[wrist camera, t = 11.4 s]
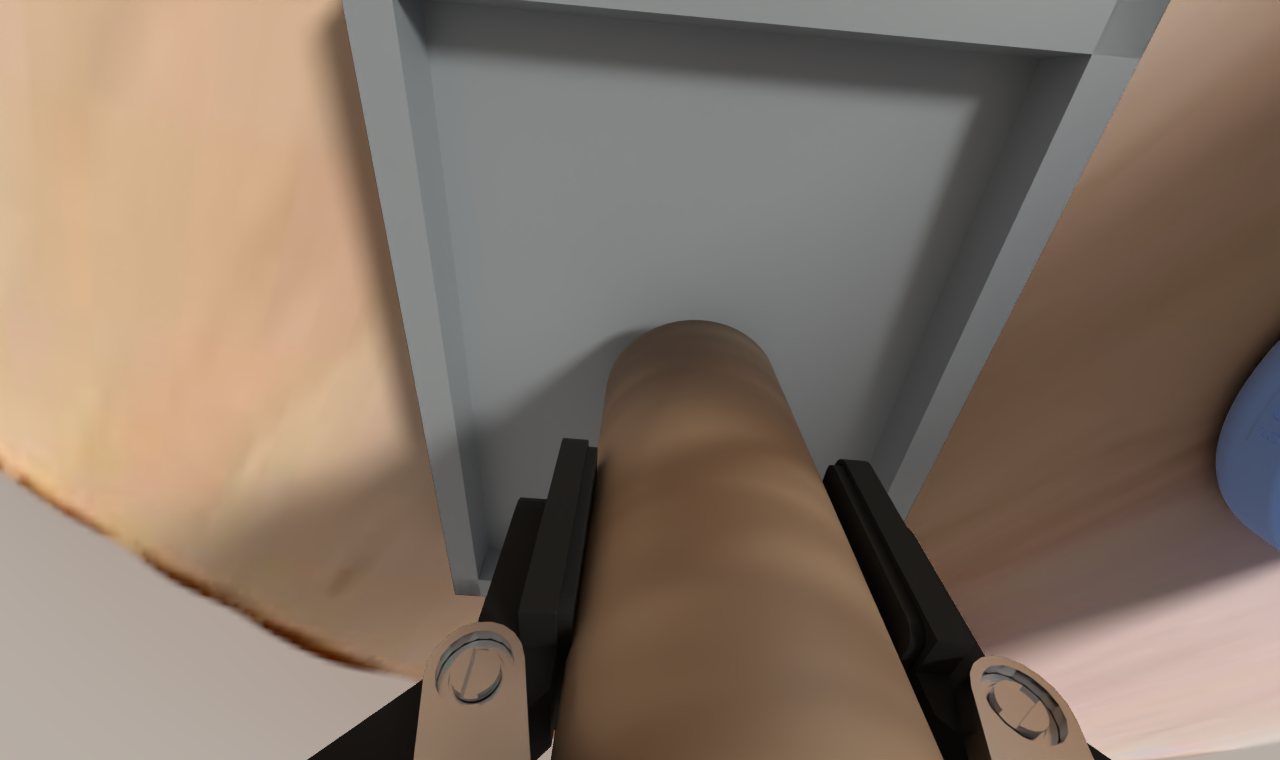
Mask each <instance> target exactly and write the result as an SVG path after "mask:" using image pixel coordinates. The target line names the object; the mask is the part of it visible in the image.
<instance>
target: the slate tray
mask: <svg viewBox="0 0 1280 760" xmlns="http://www.w3.org/2000/svg"><path fill="white" fill-rule="evenodd" d="M1170 1H1171V0H342V4H343V9H344V14H345V20H346V25H347V30H348V35H349V41H350V46H351V51H352V56H353V62H354V67H355V72H356V77H357V83H358V88H359V93H360V98H361V104H362V109H363V114H364V119H365V124H366V130H367V135H368V140H369V145H370V151H371V156H372V161H373V166H374V172H375V177H376V182H377V187H378V193H379V198H380V203H381V208H382V214H383V219H384V224H385V229H386V235H387V240H388V245H389V250H390V255H391V261H392V266H393V271H394V276H395V282H396V287H397V292H398V297H399V303H400V308H401V313H402V318H403V324H404V329H405V334H406V339H407V345H408V350H409V355H410V360H411V365H412V371H413V376H414V381H415V386H416V392H417V397H418V402H419V407H420V413H421V418H422V423H423V428H424V434H425V439H426V444H427V449H428V455H429V460H430V465H431V470H432V476H433V481H434V486H435V491H436V496H437V502H438V507H439V512H440V517H441V523H442V528H443V533H444V538H445V544H446V549H447V554H448V559H449V565H450V570H451V575H452V580H453V586H454V591H455V595H470V596H485V597H486V596H487V593H488V590H489V587H490V584H491V581H492V578H493V575H494V571H495V568H496V565H497V562H498V559H499V556H500V553H501V550H502V547H503V544H504V541H505V538H506V535H507V532H508V529H509V526H510V523H511V519H512V516H513V513H514V510H515V507H516V505H517V502H518V500H519V499H520V497H524V498H538V499H547V497H548V493H549V489H550V485H551V481H552V477H553V473H554V469H555V466H556V462H557V458H558V454H559V450H560V446H561V442H562V439H563V438H572V439H585V440H589V447H598V441H599V434H600V427H601V421H602V414H603V407H604V401H605V394H606V387H607V381H608V378H609V374H610V371H611V369H612V367H613V365H614V363H615V361H616V360H617V358H618V357H619V355H620V354H621V353H622V352H623V351H624V349H625V348H626V347H627V346H628V345H629V344H630V343H632V342H633V341H634V340H635V339H636V338H638V337H639V336H641V335H642V334H644V333H646V332H648V331H650V330H652V329H654V328H656V327H659V326H662V325H664V324H668V323H672V322H677V321H684V320H705V321H713V322H717V323H721V324H725V325H727V326H730V327H732V328H735V329H737V330H739V331H740V332H742V333H744V334H746V335H747V336H748V337H750V338H751V339H752V340H753V341H755V342H756V343H757V344H758V346H759V347H760V348H761V349H762V350H763V351H764V353H765V354H766V356H767V357H768V359H769V361H770V363H771V365H772V367H773V370H774V372H775V374H776V377H777V379H778V381H779V383H780V386H781V388H782V390H783V393H784V395H785V397H786V400H787V402H788V404H789V406H790V409H791V411H792V413H793V416H794V418H795V420H796V422H797V425H798V427H799V429H800V432H801V434H802V436H803V439H804V441H805V443H806V445H807V448H808V450H809V452H810V455H811V457H812V459H813V461H814V464H815V466H816V468H817V471H818V473H819V475H820V478H821V480H822V481H823V478H824V475H825V472H826V470H827V468H828V466H829V465H835V463H836V462H837V461H838V460H839V459H848V460H861V461H867V462H869V463H870V465H871V466H872V468H873V469H874V471H875V473H876V475H877V476H878V478H879V480H880V481H881V483H882V485H883V487H884V488H885V490H886V492H887V494H888V495H889V497H890V499H891V500H892V502H893V504H894V506H895V507H896V509H897V511H898V513H899V514H900V516H901V518H902V519H903V521H905V519H906V517H907V515H908V513H909V511H910V509H911V507H912V505H913V503H914V501H915V499H916V497H917V495H918V493H919V491H920V489H921V487H922V485H923V484H924V482H925V480H926V478H927V476H928V474H929V472H930V470H931V468H932V466H933V464H934V462H935V460H936V458H937V456H938V454H939V452H940V450H941V448H942V446H943V444H944V442H945V440H946V439H947V437H948V435H949V433H950V431H951V429H952V427H953V425H954V423H955V421H956V419H957V417H958V415H959V413H960V411H961V409H962V407H963V405H964V403H965V401H966V399H967V397H968V396H969V394H970V392H971V390H972V388H973V386H974V384H975V382H976V380H977V378H978V376H979V374H980V372H981V370H982V368H983V366H984V364H985V362H986V360H987V358H988V356H989V354H990V353H991V351H992V349H993V347H994V345H995V343H996V341H997V339H998V337H999V335H1000V333H1001V331H1002V329H1003V327H1004V325H1005V323H1006V321H1007V319H1008V317H1009V315H1010V313H1011V311H1012V309H1013V308H1014V306H1015V304H1016V302H1017V300H1018V298H1019V296H1020V294H1021V292H1022V290H1023V288H1024V286H1025V284H1026V282H1027V280H1028V278H1029V276H1030V274H1031V272H1032V270H1033V268H1034V266H1035V265H1036V263H1037V261H1038V259H1039V257H1040V255H1041V253H1042V251H1043V249H1044V247H1045V245H1046V243H1047V241H1048V239H1049V237H1050V235H1051V233H1052V231H1053V229H1054V227H1055V225H1056V223H1057V222H1058V220H1059V218H1060V216H1061V214H1062V212H1063V210H1064V208H1065V206H1066V204H1067V202H1068V200H1069V198H1070V196H1071V194H1072V192H1073V190H1074V188H1075V186H1076V184H1077V182H1078V180H1079V179H1080V177H1081V175H1082V173H1083V171H1084V169H1085V167H1086V165H1087V163H1088V161H1089V159H1090V157H1091V155H1092V153H1093V151H1094V149H1095V147H1096V145H1097V143H1098V141H1099V139H1100V137H1101V135H1102V134H1103V132H1104V130H1105V128H1106V126H1107V124H1108V122H1109V120H1110V118H1111V116H1112V114H1113V112H1114V110H1115V108H1116V106H1117V104H1118V102H1119V100H1120V98H1121V96H1122V94H1123V92H1124V91H1125V89H1126V87H1127V85H1128V83H1129V81H1130V79H1131V77H1132V75H1133V73H1134V71H1135V69H1136V67H1137V65H1138V63H1139V61H1140V59H1141V57H1142V55H1143V53H1144V51H1145V49H1146V48H1147V46H1148V44H1149V42H1150V40H1151V38H1152V36H1153V34H1154V32H1155V30H1156V28H1157V26H1158V24H1159V22H1160V20H1161V18H1162V16H1163V14H1164V12H1165V10H1166V8H1167V6H1168V4H1169V3H1170Z"/></svg>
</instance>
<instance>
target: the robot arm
mask: <svg viewBox="0 0 1280 760" xmlns="http://www.w3.org/2000/svg"><path fill="white" fill-rule="evenodd" d="M597 457H598V447H589V440H585V439H572V438H563V439H562V442H561V446H560V450H559V454H558V458H557V462H556V466H555V469H554V473H553V477H552V481H551V485H550V489H549V493H548V497H547V499H538V498H524V497H520V499H519V500H518V502H517V505H516V507H515V510H514V513H513V516H512V519H511V523H510V526H509V529H508V532H507V535H506V538H505V541H504V544H503V547H502V550H501V553H500V556H499V559H498V562H497V565H496V568H495V571H494V575H493V578H492V581H491V584H490V587H489V590H488V593H487V596H486V599H485V602H484V605H483V608H482V611H481V614H480V617H479V620H478V622H476V623H473V624H470V625H466V626H463V627H461V628H459V629H458V630H456V631H455V632H453V633H451V634H450V635H448V636H447V637H446V638H445V639H444V640H443V641H442V642H441V643H440V644H439V645H438V646H437V647H436V649H435V650H434V652H433V654H432V655H431V657H430V659H429V660H428V662H427V666H426V670H425V673H424V677H423V680H421V681H420V682H418V683H417V684H416V685H414V686H413V687H411V688H410V689H408V690H407V691H406V692H404V693H403V694H401V695H400V696H398V697H397V698H395V699H394V700H393V701H391V702H390V703H388V704H387V705H386V706H384V707H383V708H381V709H380V710H378V711H377V712H375V713H374V714H372V715H371V716H370V717H368V718H367V719H365V720H364V721H362V722H361V723H360V724H358V725H357V726H355V727H354V728H352V729H351V730H349V731H348V732H347V733H345V734H344V735H342V736H341V737H339V738H338V739H337V740H335V741H334V742H332V743H331V744H329V745H328V746H327V747H325V748H324V749H322V750H321V751H319V752H318V753H316V754H315V755H314V756H312V757H311V758H309V759H308V760H537V759H538V758H539V757H540V756H541V755H542V754H543V753H544V752H545V751H547V750H548V749H549V748H550V747H551V744H552V738H553V731H554V730H555V729H556V722H557V715H558V709H559V702H560V695H561V689H562V682H563V675H564V668H565V662H566V658H567V656H568V653H569V650H570V648H571V646H572V640H573V633H574V626H575V619H576V612H577V605H578V598H579V591H580V584H581V577H582V571H583V564H584V557H585V550H586V543H587V536H588V529H589V522H590V515H591V508H592V501H593V494H594V487H595V480H596V473H597ZM822 482H823V484H824V487H825V489H826V491H827V494H828V496H829V498H830V500H831V503H832V505H833V507H834V510H835V512H836V514H837V516H838V519H839V521H840V523H841V526H842V528H843V530H844V533H845V535H846V537H847V539H848V542H849V544H850V546H851V549H852V551H853V553H854V555H855V558H856V560H857V562H858V565H859V567H860V569H861V572H862V574H863V576H864V578H865V581H866V583H867V585H868V588H869V590H870V592H871V594H872V597H873V599H874V601H875V604H876V606H877V608H878V611H879V613H880V615H881V617H882V620H883V622H884V624H885V627H886V629H887V631H888V633H889V636H890V638H891V640H892V643H893V645H894V647H895V650H896V652H897V654H898V656H899V659H900V661H901V663H902V666H903V668H904V670H905V672H906V675H907V677H908V679H909V682H910V684H911V686H912V689H913V691H914V693H915V695H916V698H917V700H918V702H919V705H920V707H921V709H922V711H923V714H924V716H925V718H926V721H927V723H928V725H929V728H930V730H931V732H932V734H933V737H934V739H935V741H936V744H937V746H938V748H939V750H940V753H941V755H942V757H943V760H1111V759H1109V758H1108V757H1106V756H1105V755H1104V754H1102V753H1101V752H1099V751H1098V750H1096V749H1095V748H1094V747H1092V746H1091V745H1089V744H1088V743H1087V742H1086V740H1085V738H1084V735H1083V733H1082V731H1081V728H1080V726H1079V724H1078V722H1077V719H1076V718H1075V716H1074V714H1073V712H1072V711H1071V709H1070V707H1069V705H1068V704H1067V703H1066V701H1065V700H1064V699H1063V698H1062V697H1061V695H1060V694H1059V693H1058V692H1057V691H1056V690H1055V688H1054V687H1052V686H1051V685H1050V684H1049V683H1048V682H1047V681H1045V680H1044V679H1043V678H1042V677H1041V676H1040V675H1038V674H1037V673H1035V672H1034V671H1032V670H1030V669H1029V668H1027V667H1026V666H1024V665H1023V664H1020V663H1018V662H1015V661H1013V660H1011V659H1008V658H1004V657H998V656H987V657H985V655H984V654H983V652H982V650H981V649H980V647H979V645H978V644H977V642H976V640H975V638H974V637H973V635H972V633H971V632H970V630H969V628H968V626H967V625H966V623H965V621H964V620H963V618H962V616H961V614H960V613H959V611H958V609H957V608H956V606H955V604H954V602H953V601H952V599H951V597H950V596H949V594H948V592H947V591H946V589H945V587H944V585H943V584H942V582H941V580H940V579H939V577H938V575H937V573H936V572H935V570H934V568H933V567H932V565H931V563H930V561H929V560H928V558H927V556H926V555H925V553H924V551H923V549H922V548H921V546H920V544H919V543H918V541H917V539H916V538H915V536H914V534H913V533H912V532H911V531H910V529H909V528H907V526H906V525H905V523H904V521H903V519H902V518H901V516H900V514H899V513H898V511H897V509H896V507H895V506H894V504H893V502H892V500H891V499H890V497H889V495H888V494H887V492H886V490H885V488H884V487H883V485H882V483H881V481H880V480H879V478H878V476H877V475H876V473H875V471H874V469H873V468H872V466H871V465H870V463H869V462H867V461H861V460H848V459H839V460H838V461H837V462H836V463H835V465H829V466H828V468H827V470H826V472H825V475H824V478H823V481H822Z"/></svg>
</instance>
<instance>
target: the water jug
mask: <svg viewBox="0 0 1280 760" xmlns="http://www.w3.org/2000/svg"><path fill="white" fill-rule="evenodd" d="M1216 476H1217V481H1218V485H1219V488H1220V491H1221V494H1222V496H1223V498H1224V500H1225V502H1226V504H1227V505H1228V507H1229V508H1230V510H1231V511H1232V512H1233V514H1234V515H1235V516H1236V517H1237V518H1238V519H1239V520H1240V521H1241V522H1242V523H1243V524H1244V525H1245V526H1246V527H1247V528H1248V529H1250V530H1251V531H1252V532H1253V533H1255V534H1256V535H1258V536H1259V537H1260V538H1262V539H1263V540H1264V541H1266V542H1267V543H1268V544H1270V545H1271V546H1273V547H1274V548H1275V549H1277V550H1278V551H1279V552H1280V340H1279V341H1278V342H1277V343H1276V344H1275V345H1274V346H1273V347H1272V349H1271V350H1270V351H1269V352H1268V353H1267V354H1266V356H1265V357H1264V358H1263V359H1262V360H1261V362H1260V363H1259V364H1258V366H1257V367H1256V368H1255V370H1254V371H1253V372H1252V374H1251V375H1250V376H1249V378H1248V379H1247V381H1246V382H1245V384H1244V385H1243V387H1242V388H1241V390H1240V392H1239V393H1238V395H1237V397H1236V398H1235V400H1234V402H1233V404H1232V406H1231V408H1230V410H1229V412H1228V414H1227V416H1226V419H1225V421H1224V424H1223V427H1222V430H1221V433H1220V436H1219V440H1218V445H1217V451H1216Z"/></svg>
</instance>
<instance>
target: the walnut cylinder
mask: <svg viewBox="0 0 1280 760" xmlns="http://www.w3.org/2000/svg"><path fill="white" fill-rule="evenodd" d="M551 760H943V757H942V755H941V753H940V750H939V748H938V746H937V744H936V741H935V739H934V737H933V734H932V732H931V730H930V728H929V725H928V723H927V721H926V718H925V716H924V714H923V711H922V709H921V707H920V705H919V702H918V700H917V698H916V695H915V693H914V691H913V689H912V686H911V684H910V682H909V679H908V677H907V675H906V672H905V670H904V668H903V666H902V663H901V661H900V659H899V656H898V654H897V652H896V650H895V647H894V645H893V643H892V640H891V638H890V636H889V633H888V631H887V629H886V627H885V624H884V622H883V620H882V617H881V615H880V613H879V611H878V608H877V606H876V604H875V601H874V599H873V597H872V594H871V592H870V590H869V588H868V585H867V583H866V581H865V578H864V576H863V574H862V572H861V569H860V567H859V565H858V562H857V560H856V558H855V555H854V553H853V551H852V549H851V546H850V544H849V542H848V539H847V537H846V535H845V533H844V530H843V528H842V526H841V523H840V521H839V519H838V516H837V514H836V512H835V510H834V507H833V505H832V503H831V500H830V498H829V496H828V494H827V491H826V489H825V487H824V484H823V482H822V480H821V478H820V475H819V473H818V471H817V468H816V466H815V464H814V461H813V459H812V457H811V455H810V452H809V450H808V448H807V445H806V443H805V441H804V439H803V436H802V434H801V432H800V429H799V427H798V425H797V422H796V420H795V418H794V416H793V413H792V411H791V409H790V406H789V404H788V402H787V400H786V397H785V395H784V393H783V390H782V388H781V386H780V383H779V381H778V379H777V377H776V374H775V372H774V370H773V367H772V365H771V363H770V361H769V359H768V357H767V356H766V354H765V353H764V351H763V350H762V349H761V348H760V347H759V346H758V344H757V343H756V342H755V341H753V340H752V339H751V338H750V337H748V336H747V335H746V334H744V333H742V332H740V331H739V330H737V329H735V328H732V327H730V326H727V325H725V324H721V323H717V322H713V321H705V320H684V321H677V322H672V323H668V324H664V325H662V326H659V327H656V328H654V329H652V330H650V331H648V332H646V333H644V334H642V335H641V336H639V337H638V338H636V339H635V340H634V341H633V342H632V343H630V344H629V345H628V346H627V347H626V348H625V349H624V351H623V352H622V353H621V354H620V355H619V357H618V358H617V360H616V361H615V363H614V365H613V367H612V369H611V371H610V374H609V378H608V381H607V387H606V394H605V401H604V407H603V414H602V421H601V427H600V434H599V441H598V457H597V473H596V480H595V487H594V494H593V501H592V508H591V515H590V522H589V529H588V536H587V543H586V550H585V557H584V564H583V571H582V577H581V584H580V591H579V598H578V605H577V612H576V619H575V626H574V633H573V640H572V646H571V648H570V650H569V653H568V656H567V658H566V662H565V668H564V675H563V682H562V689H561V695H560V702H559V709H558V715H557V722H556V729H555V735H554V742H553V749H552V755H551Z"/></svg>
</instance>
